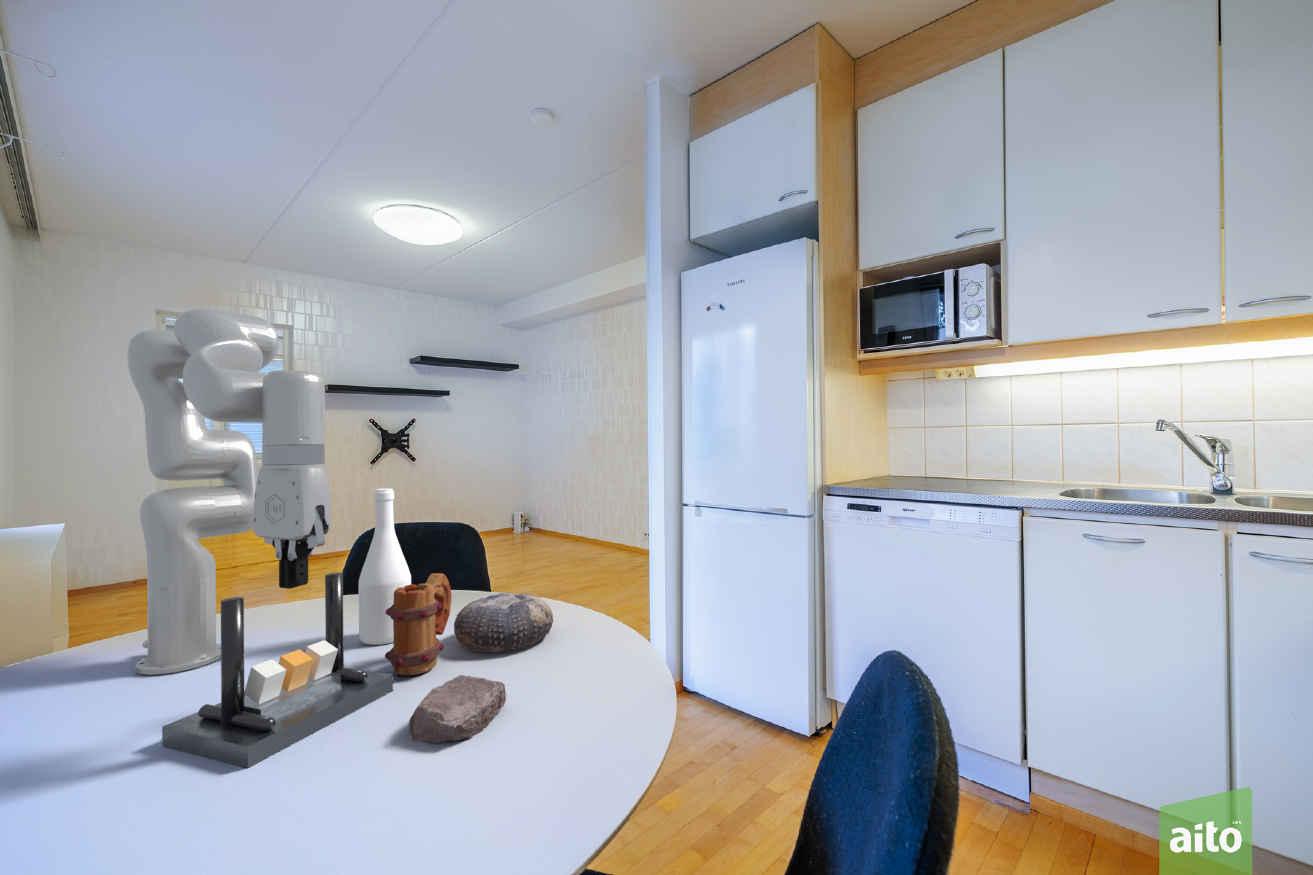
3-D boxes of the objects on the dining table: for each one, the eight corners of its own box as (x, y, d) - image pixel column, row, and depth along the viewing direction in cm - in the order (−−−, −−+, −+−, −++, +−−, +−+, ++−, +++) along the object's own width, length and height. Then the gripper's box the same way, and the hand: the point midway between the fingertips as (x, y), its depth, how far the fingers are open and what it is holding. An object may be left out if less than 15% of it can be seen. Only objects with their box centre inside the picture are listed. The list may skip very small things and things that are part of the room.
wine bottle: (381, 629, 118) (379, 487, 118) (421, 631, 116) (419, 487, 116) (347, 645, 108) (346, 491, 109) (390, 647, 106) (389, 490, 107)
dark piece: (162, 746, 72) (161, 601, 72) (317, 678, 92) (316, 566, 93) (247, 767, 66) (246, 611, 67) (392, 690, 87) (391, 572, 87)
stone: (461, 751, 69) (460, 713, 69) (401, 742, 72) (401, 705, 72) (512, 708, 81) (511, 676, 81) (459, 702, 83) (458, 670, 83)
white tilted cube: (243, 693, 75) (251, 666, 74) (264, 684, 77) (272, 659, 77) (258, 704, 74) (266, 677, 73) (279, 695, 76) (286, 669, 76)
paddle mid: (273, 681, 78) (280, 656, 78) (292, 673, 81) (299, 649, 81) (287, 691, 77) (295, 666, 77) (306, 683, 80) (313, 658, 80)
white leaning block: (300, 670, 82) (307, 646, 82) (317, 663, 85) (324, 639, 84) (313, 680, 81) (321, 655, 81) (330, 672, 84) (338, 649, 83)
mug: (419, 683, 89) (418, 590, 90) (374, 680, 91) (373, 588, 91) (467, 650, 104) (466, 570, 104) (428, 648, 105) (427, 569, 106)
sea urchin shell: (545, 654, 100) (534, 599, 100) (443, 674, 100) (432, 620, 100) (563, 620, 119) (554, 574, 119) (477, 637, 119) (468, 591, 119)
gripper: (230, 458, 78) (230, 588, 78) (307, 459, 73) (307, 598, 73) (282, 456, 86) (282, 575, 85) (355, 457, 80) (355, 584, 80)
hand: (293, 585), depth 79 cm, fingers closed
